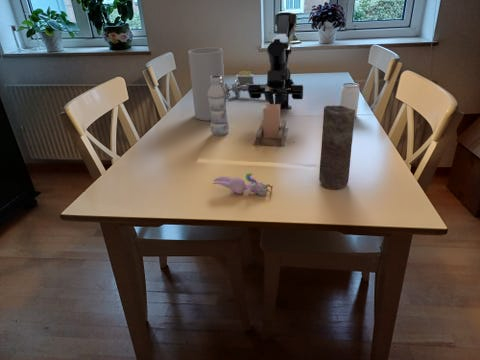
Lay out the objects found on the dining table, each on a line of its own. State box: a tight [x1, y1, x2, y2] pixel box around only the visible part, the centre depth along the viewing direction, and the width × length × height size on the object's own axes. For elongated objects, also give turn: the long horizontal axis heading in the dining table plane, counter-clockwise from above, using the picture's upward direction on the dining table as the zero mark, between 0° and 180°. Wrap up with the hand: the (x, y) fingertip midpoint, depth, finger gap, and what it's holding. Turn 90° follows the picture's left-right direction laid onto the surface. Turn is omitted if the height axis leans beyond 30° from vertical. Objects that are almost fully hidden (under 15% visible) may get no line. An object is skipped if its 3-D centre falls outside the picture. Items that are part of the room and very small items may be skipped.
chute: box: [252, 119, 289, 148], centre depth 117 cm, size 16×10×4 cm, turn 168°
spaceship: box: [224, 79, 268, 98], centre depth 161 cm, size 8×35×8 cm
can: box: [339, 82, 361, 118], centre depth 131 cm, size 6×6×12 cm
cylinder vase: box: [188, 47, 226, 122], centre depth 135 cm, size 12×12×25 cm
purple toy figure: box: [212, 173, 274, 197], centre depth 87 cm, size 6×6×15 cm
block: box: [262, 103, 281, 138], centre depth 116 cm, size 5×5×10 cm
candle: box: [318, 105, 356, 190], centre depth 86 cm, size 8×7×20 cm
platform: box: [235, 70, 256, 85], centre depth 183 cm, size 12×18×7 cm, turn 78°
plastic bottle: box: [208, 76, 230, 137], centre depth 118 cm, size 6×7×20 cm
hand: (273, 113), depth 120 cm, fingers closed
